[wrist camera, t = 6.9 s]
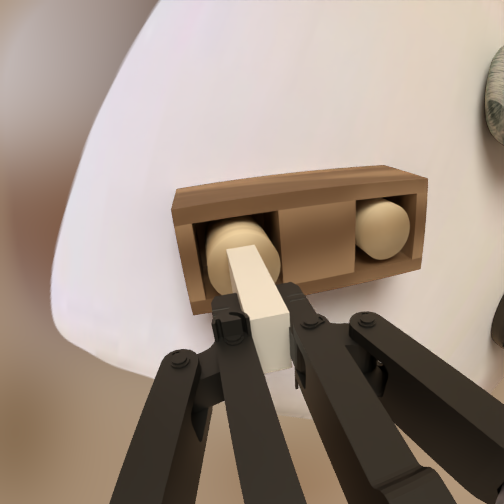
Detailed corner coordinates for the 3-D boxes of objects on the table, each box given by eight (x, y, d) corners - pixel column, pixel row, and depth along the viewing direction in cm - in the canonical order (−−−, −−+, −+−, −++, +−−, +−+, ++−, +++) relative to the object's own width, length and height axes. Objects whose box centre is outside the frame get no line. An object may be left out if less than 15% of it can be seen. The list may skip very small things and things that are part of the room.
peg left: (264, 259, 23) (282, 294, 19) (209, 268, 23) (214, 306, 18) (259, 206, 22) (277, 229, 17) (200, 214, 21) (202, 241, 17)
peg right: (374, 231, 26) (407, 254, 21) (332, 238, 25) (360, 264, 21) (375, 185, 24) (411, 201, 20) (331, 190, 24) (362, 207, 19)
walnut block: (382, 241, 28) (420, 269, 22) (192, 274, 26) (193, 315, 20) (383, 165, 25) (427, 178, 19) (176, 189, 23) (171, 209, 17)
